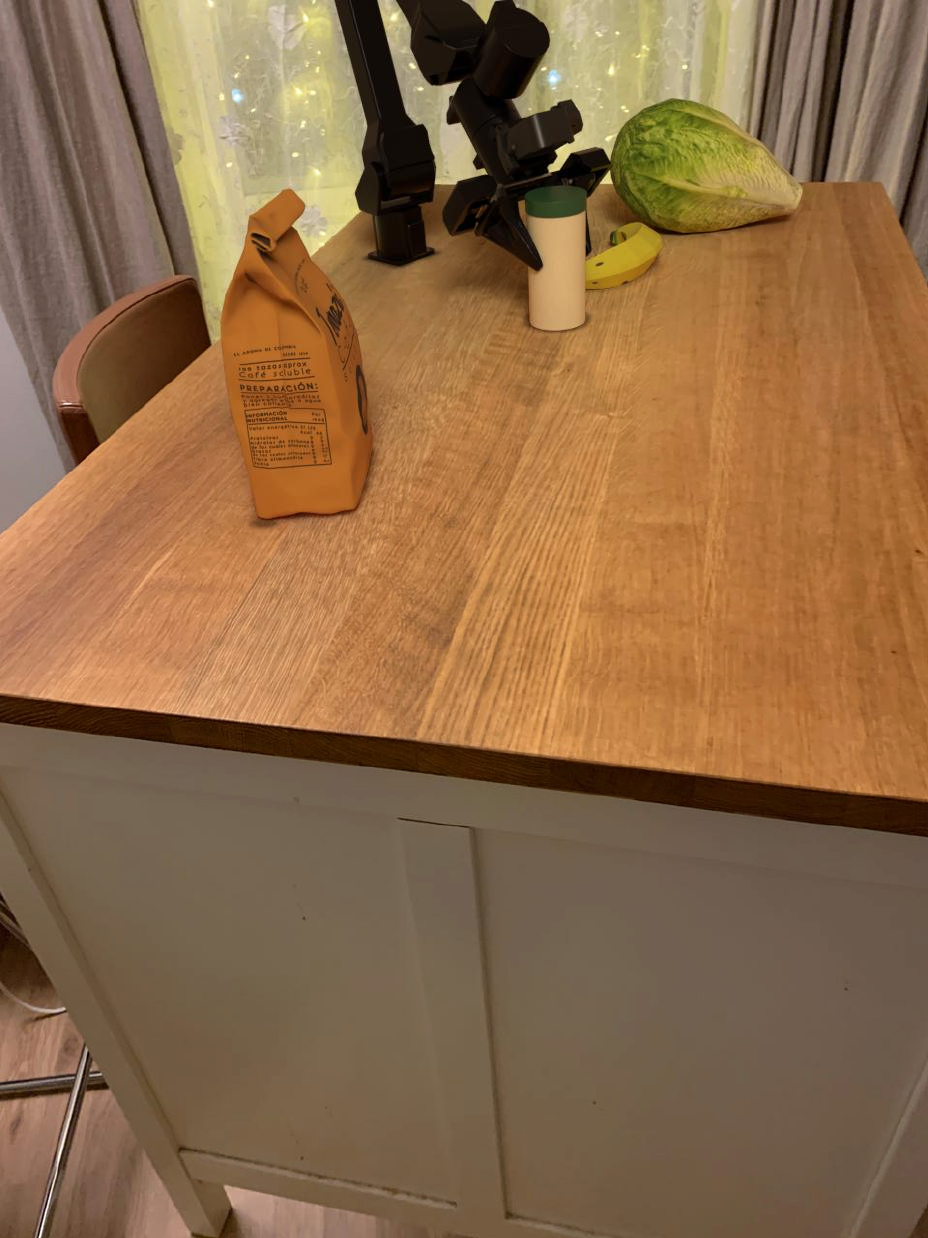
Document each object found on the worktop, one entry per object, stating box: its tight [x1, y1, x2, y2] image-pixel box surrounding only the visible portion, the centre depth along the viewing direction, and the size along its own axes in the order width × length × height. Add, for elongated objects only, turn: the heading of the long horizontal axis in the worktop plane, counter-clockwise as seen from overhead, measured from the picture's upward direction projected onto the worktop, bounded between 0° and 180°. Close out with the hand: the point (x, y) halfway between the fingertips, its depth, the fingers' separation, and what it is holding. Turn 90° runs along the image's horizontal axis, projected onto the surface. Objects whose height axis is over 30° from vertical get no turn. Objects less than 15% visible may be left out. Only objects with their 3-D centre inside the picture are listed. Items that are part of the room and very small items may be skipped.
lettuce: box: [609, 97, 804, 234], centre depth 124 cm, size 15×25×16 cm
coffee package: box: [219, 188, 374, 520], centre depth 74 cm, size 10×12×22 cm
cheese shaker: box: [524, 186, 588, 332], centre depth 102 cm, size 6×6×13 cm
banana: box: [585, 221, 664, 290], centre depth 117 cm, size 5×17×15 cm
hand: (564, 261), depth 101 cm, fingers closed on cheese shaker, 6 cm apart
